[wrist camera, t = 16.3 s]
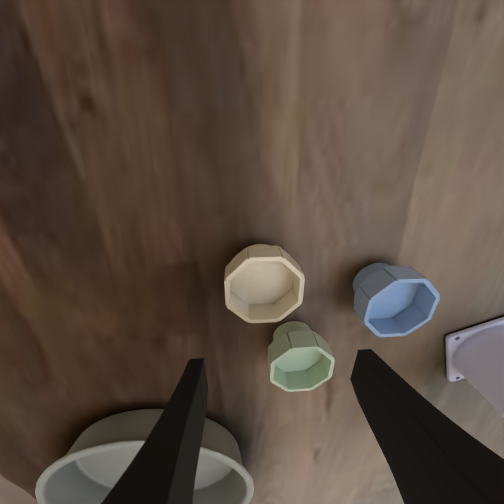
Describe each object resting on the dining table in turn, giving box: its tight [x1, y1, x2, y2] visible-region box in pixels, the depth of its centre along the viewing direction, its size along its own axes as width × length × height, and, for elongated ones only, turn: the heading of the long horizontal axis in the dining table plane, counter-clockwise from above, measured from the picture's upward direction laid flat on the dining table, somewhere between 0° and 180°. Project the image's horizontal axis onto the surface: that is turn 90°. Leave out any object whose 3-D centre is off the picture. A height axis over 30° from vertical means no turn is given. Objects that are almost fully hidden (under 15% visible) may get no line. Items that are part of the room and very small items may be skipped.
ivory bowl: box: [224, 244, 305, 323], centre depth 18 cm, size 6×6×4 cm
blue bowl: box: [353, 263, 440, 337], centre depth 20 cm, size 6×6×4 cm
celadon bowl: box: [267, 321, 335, 392], centre depth 22 cm, size 6×6×4 cm
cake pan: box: [35, 409, 254, 504], centre depth 30 cm, size 25×25×4 cm
